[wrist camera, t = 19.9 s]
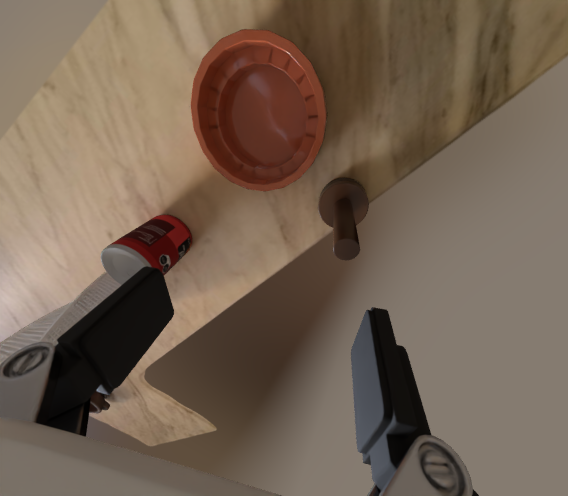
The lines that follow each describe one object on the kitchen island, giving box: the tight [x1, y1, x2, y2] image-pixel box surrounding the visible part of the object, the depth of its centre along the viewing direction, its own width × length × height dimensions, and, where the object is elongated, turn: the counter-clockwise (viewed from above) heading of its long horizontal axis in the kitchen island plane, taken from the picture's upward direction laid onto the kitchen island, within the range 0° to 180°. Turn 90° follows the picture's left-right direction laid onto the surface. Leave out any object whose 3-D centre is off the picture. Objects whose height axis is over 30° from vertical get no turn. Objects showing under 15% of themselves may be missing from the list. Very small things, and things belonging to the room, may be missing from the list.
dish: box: [89, 390, 110, 413], centre depth 91 cm, size 18×22×5 cm
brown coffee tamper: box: [318, 178, 369, 260], centre depth 26 cm, size 6×6×13 cm
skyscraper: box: [0, 271, 121, 365], centre depth 35 cm, size 8×8×28 cm
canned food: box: [101, 215, 192, 285], centre depth 36 cm, size 8×8×11 cm
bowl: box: [191, 29, 328, 191], centre depth 26 cm, size 15×15×5 cm
